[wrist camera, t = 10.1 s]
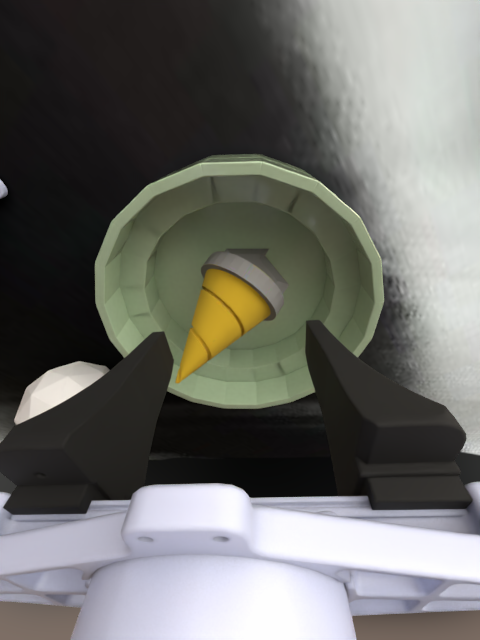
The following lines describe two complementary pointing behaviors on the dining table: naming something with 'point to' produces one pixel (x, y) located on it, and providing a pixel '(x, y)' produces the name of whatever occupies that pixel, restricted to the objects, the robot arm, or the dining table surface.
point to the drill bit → (231, 303)
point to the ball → (57, 388)
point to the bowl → (239, 233)
